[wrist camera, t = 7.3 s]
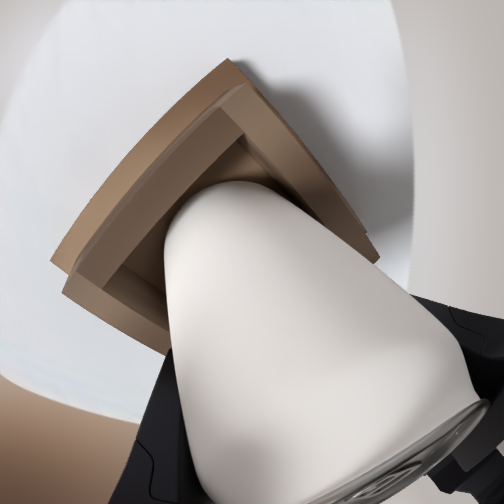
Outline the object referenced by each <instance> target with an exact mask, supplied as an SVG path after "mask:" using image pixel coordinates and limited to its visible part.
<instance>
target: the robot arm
mask: <svg viewBox="0 0 504 504" xmlns="http://www.w3.org/2000/svg"><path fill="white" fill-rule="evenodd" d="M410 295H411V294H410ZM411 296H412V297H413V298H414V299H415V300H417V301H418V302H419V303H420V304H421V305H422V306H423V307H424V308H426V309H427V310H428V311H429V312H430V313H431V314H432V315H433V316H434V317H435V318H436V319H438V320H439V321H440V322H441V323H442V324H443V325H444V326H445V327H446V328H447V329H448V330H449V331H450V333H451V334H452V335H453V336H454V337H455V338H456V340H457V341H458V343H459V345H460V348H461V350H462V353H463V355H464V358H465V362H466V365H467V369H468V372H469V376H470V379H471V383H472V385H473V388H474V390H475V392H476V393H477V395H478V396H479V398H480V399H488V400H489V401H490V407H489V409H488V411H487V412H486V414H485V415H484V417H483V418H482V419H481V421H480V422H479V423H478V425H477V426H476V427H475V428H474V429H473V430H472V431H471V433H470V434H469V435H468V436H467V437H466V438H465V439H464V440H463V441H462V442H461V443H460V444H459V445H458V446H457V447H456V448H455V449H454V450H453V451H452V452H450V453H449V454H448V455H447V456H446V457H445V458H444V459H443V460H441V461H440V462H439V463H438V464H437V465H435V466H434V467H433V468H432V469H430V470H429V471H428V472H427V473H425V474H424V475H423V476H426V475H428V476H429V477H430V478H431V480H432V481H433V482H434V483H435V484H436V486H437V487H438V489H439V490H440V491H442V492H445V493H448V494H452V493H453V492H454V491H459V492H465V493H470V494H471V495H472V496H473V497H474V498H475V499H476V500H477V502H478V503H479V504H504V319H500V318H495V317H490V316H486V315H481V314H477V313H472V312H468V311H465V310H461V309H458V308H454V307H451V306H449V307H448V306H447V305H444V304H441V303H437V302H434V301H431V300H428V299H424V298H421V297H418V296H414V295H411ZM108 504H215V503H214V502H213V501H212V499H211V498H210V497H209V496H208V495H207V494H206V492H205V491H204V489H203V488H202V486H201V484H200V482H199V479H198V477H197V474H196V471H195V467H194V463H193V459H192V456H191V452H190V447H189V443H188V438H187V434H186V428H185V423H184V418H183V412H182V406H181V401H180V396H179V390H178V385H177V379H176V372H175V366H174V358H173V351H172V348H170V349H169V350H168V352H167V355H166V357H165V360H164V362H163V365H162V367H161V370H160V373H159V375H158V378H157V381H156V383H155V386H154V389H153V391H152V394H151V397H150V399H149V402H148V405H147V407H146V410H145V413H144V416H143V418H142V421H141V424H140V427H139V430H138V432H137V435H136V440H135V441H134V444H133V446H132V449H131V452H130V455H129V457H128V460H127V463H126V465H125V468H124V470H123V472H122V474H121V477H120V479H119V481H118V483H117V485H116V487H115V490H114V492H113V494H112V496H111V498H110V500H109V502H108Z"/></svg>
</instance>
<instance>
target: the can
mask: <svg viewBox="0 0 504 504" xmlns="http://www.w3.org/2000/svg"><path fill="white" fill-rule="evenodd" d="M164 266H165V282H166V295H167V306H168V316H169V326H170V335H171V343H172V351H173V358H174V366H175V372H176V379H177V385H178V390H179V396H180V401H181V406H182V412H183V418H184V423H185V428H186V434H187V438H188V443H189V447H190V452H191V456H192V459H193V463H194V467H195V471H196V474H197V477H198V479H199V482H200V484H201V486H202V488H203V489H204V491H205V492H206V494H207V495H208V496H209V497H210V498H211V499H212V501H213V502H214V503H215V504H380V503H382V502H383V501H385V500H387V499H389V498H390V497H392V496H393V495H395V494H397V493H398V492H400V491H401V490H403V489H404V488H406V487H407V486H409V485H410V484H411V483H413V482H414V481H416V480H417V479H419V478H420V477H421V476H423V475H424V474H425V473H427V472H428V471H429V470H430V469H432V468H433V467H434V466H435V465H437V464H438V463H439V462H440V461H441V460H443V459H444V458H445V457H446V456H447V455H448V454H449V453H450V452H452V451H453V450H454V449H455V448H456V447H457V446H458V445H459V444H460V443H461V442H462V441H463V440H464V439H465V438H466V437H467V436H468V435H469V434H470V433H471V431H472V430H473V429H474V428H475V427H476V426H477V425H478V423H479V422H480V421H481V419H482V418H483V417H484V415H485V414H486V412H487V411H488V409H489V407H490V401H489V400H488V399H480V398H479V396H478V395H477V393H476V392H475V390H474V388H473V385H472V383H471V379H470V376H469V372H468V369H467V365H466V362H465V358H464V355H463V353H462V350H461V348H460V345H459V343H458V341H457V340H456V338H455V337H454V336H453V335H452V334H451V333H450V331H449V330H448V329H447V328H446V327H445V326H444V325H443V324H442V323H441V322H440V321H439V320H438V319H436V318H435V317H434V316H433V315H432V314H431V313H430V312H429V311H428V310H427V309H426V308H424V307H423V306H422V305H421V304H420V303H419V302H418V301H417V300H415V299H414V298H413V297H412V296H411V295H410V294H408V293H407V292H406V291H405V290H404V289H403V288H401V287H400V286H399V285H398V284H397V283H395V282H394V281H393V280H392V279H391V278H389V277H388V276H387V275H386V274H385V273H383V272H382V271H381V270H380V269H378V268H377V267H376V266H375V265H373V264H372V263H371V262H370V261H368V260H367V259H366V258H365V257H363V256H362V255H361V254H360V253H358V252H357V251H356V250H354V249H353V248H352V247H351V246H349V245H348V244H347V243H345V242H344V241H343V240H341V239H340V238H339V237H337V236H336V235H335V234H334V233H332V232H331V231H330V230H328V229H327V228H325V227H324V226H323V225H321V224H320V223H319V222H317V221H316V220H315V219H313V218H312V217H311V216H309V215H308V214H306V213H305V212H304V211H302V210H301V209H299V208H298V207H297V206H295V205H294V204H292V203H291V202H289V201H288V200H286V199H285V198H284V197H282V196H281V195H279V194H278V193H276V192H274V191H273V190H271V189H269V188H267V187H265V186H263V185H260V184H257V183H253V182H247V181H228V182H223V183H219V184H215V185H212V186H210V187H207V188H205V189H203V190H201V191H199V192H197V193H196V194H194V195H193V196H192V197H190V198H189V199H188V200H187V201H186V202H185V203H184V204H183V205H182V207H181V208H180V209H179V211H178V212H177V214H176V215H175V217H174V218H173V220H172V222H171V224H170V226H169V229H168V231H167V235H166V239H165V245H164Z"/></svg>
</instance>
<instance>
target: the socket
mask: <svg viewBox="0 0 504 504" xmlns="http://www.w3.org/2000/svg"><path fill="white" fill-rule="evenodd" d="M228 181H247V182H253V183H257V184H260V185H263V186H265V187H267V188H269V189H271V190H273V191H274V192H276V193H278V194H279V195H281V196H282V197H284V198H285V199H286V200H288V201H289V202H291V203H292V204H294V205H295V206H297V207H298V208H299V209H301V210H302V211H304V212H305V213H306V214H308V215H309V216H311V217H312V218H313V219H315V220H316V221H317V222H319V223H320V224H321V225H323V226H324V227H325V228H327V229H328V230H330V231H331V232H332V233H334V234H335V235H336V236H337V237H339V238H340V239H341V240H343V241H344V242H345V243H347V244H348V245H349V246H351V247H352V248H353V249H354V250H356V251H357V252H358V253H360V254H361V255H362V256H363V257H365V258H366V259H367V260H368V261H370V262H371V263H372V264H374V263H375V262H376V261H377V260H378V259H379V258H380V256H379V254H378V253H377V251H376V249H375V248H374V246H373V245H372V243H371V242H370V240H369V239H368V237H367V236H366V233H367V231H366V230H365V228H364V227H363V225H362V223H361V222H360V220H359V219H358V218H357V216H356V215H355V213H354V212H353V210H352V209H351V207H350V206H349V204H348V203H347V201H346V200H345V199H344V197H343V196H342V194H341V193H340V192H339V190H338V189H337V187H336V186H335V185H334V183H333V182H332V180H331V179H330V178H329V176H328V175H327V174H326V172H325V171H324V170H323V168H322V167H321V166H320V164H319V163H318V162H317V160H316V159H315V158H314V156H313V155H312V154H311V153H310V151H309V150H308V149H307V148H306V146H305V145H304V144H303V142H302V141H301V140H300V139H299V137H298V136H297V135H296V134H295V133H294V131H293V130H292V129H291V128H290V126H289V125H288V124H287V123H286V122H285V120H284V119H283V118H282V117H281V116H280V115H279V113H278V112H277V111H276V110H275V109H274V108H273V106H272V105H271V104H270V103H269V102H268V101H267V100H266V98H265V97H264V96H263V95H262V94H261V93H260V92H259V91H258V90H257V88H256V87H255V86H254V85H253V84H252V83H251V82H250V81H249V80H248V79H247V78H246V77H245V75H244V74H243V73H242V72H241V71H240V70H239V69H238V68H237V67H236V66H235V65H234V64H233V63H232V62H231V61H230V60H229V59H228V58H227V59H226V60H224V61H223V62H222V63H221V64H219V65H218V66H217V67H216V68H215V69H213V70H212V71H211V72H210V73H209V74H208V75H206V76H205V77H204V78H203V79H202V80H201V81H200V82H198V83H197V84H196V85H195V86H194V87H193V88H192V89H191V90H190V91H189V92H187V93H186V94H185V95H184V96H183V97H182V98H181V99H180V100H179V101H178V102H177V103H176V104H175V105H174V106H173V107H172V108H171V109H170V110H169V111H168V112H167V113H166V114H165V115H164V116H163V117H162V118H161V119H160V120H159V121H158V122H157V123H156V124H155V125H154V126H153V127H152V128H151V129H150V130H149V131H148V132H147V133H146V134H145V135H144V136H143V138H142V139H141V140H140V141H139V142H138V143H137V144H136V145H135V146H134V148H133V149H132V150H131V151H130V152H129V153H128V154H127V155H126V157H125V158H124V159H123V160H122V161H121V162H120V164H119V165H118V166H117V167H116V168H115V170H114V171H113V172H112V173H111V175H110V176H109V177H108V178H107V180H106V181H105V182H104V183H103V185H102V186H101V187H100V188H99V190H98V191H97V192H96V194H95V195H94V196H93V198H92V199H91V200H90V202H89V203H88V204H87V206H86V207H85V208H84V210H83V211H82V213H81V214H80V215H79V217H78V218H77V220H76V221H75V222H74V224H73V225H72V227H71V228H70V230H69V231H68V233H67V234H66V236H65V237H64V239H63V240H62V242H61V243H60V245H59V246H58V248H57V250H56V251H55V253H54V254H53V256H52V258H51V259H50V261H51V262H52V263H54V264H55V265H56V266H57V267H59V268H60V269H61V270H63V271H64V272H65V273H67V274H68V275H69V276H68V279H67V281H66V283H65V286H64V288H63V291H62V294H64V295H65V296H67V297H68V298H70V299H71V300H72V301H74V302H75V303H77V304H78V305H80V306H81V307H83V308H84V309H86V310H87V311H89V312H91V313H92V314H94V315H95V316H97V317H98V318H100V319H101V320H103V321H105V322H106V323H108V324H110V325H111V326H113V327H114V328H116V329H118V330H120V331H121V332H123V333H125V334H126V335H128V336H130V337H131V338H133V339H135V340H137V341H139V342H140V343H142V344H144V345H146V346H148V347H149V348H151V349H153V350H155V351H157V352H159V353H161V354H162V355H164V356H166V355H167V352H168V350H169V349H170V348H172V343H171V335H170V326H169V316H168V306H167V295H166V282H165V266H164V245H165V239H166V235H167V231H168V229H169V226H170V224H171V222H172V220H173V218H174V217H175V215H176V214H177V212H178V211H179V209H180V208H181V207H182V205H183V204H184V203H185V202H186V201H187V200H188V199H189V198H190V197H192V196H193V195H194V194H196V193H197V192H199V191H201V190H203V189H205V188H207V187H210V186H212V185H215V184H219V183H223V182H228Z"/></svg>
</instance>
